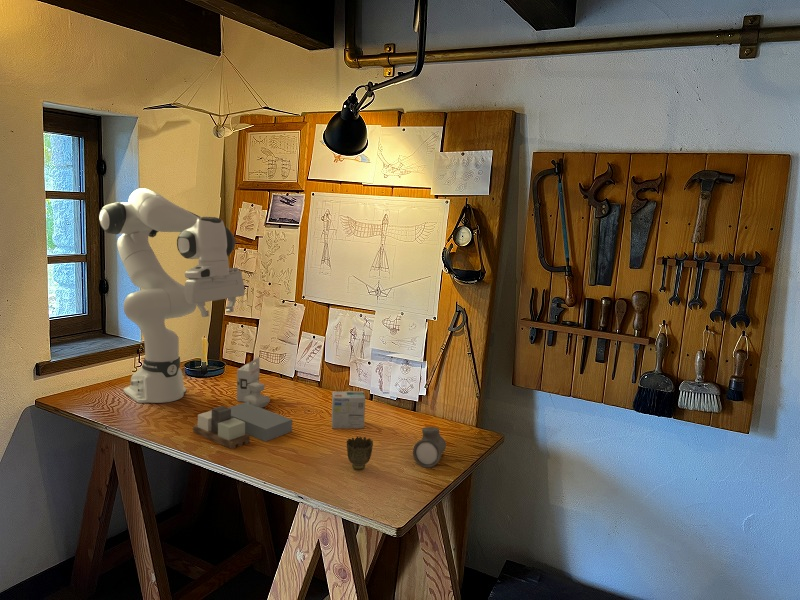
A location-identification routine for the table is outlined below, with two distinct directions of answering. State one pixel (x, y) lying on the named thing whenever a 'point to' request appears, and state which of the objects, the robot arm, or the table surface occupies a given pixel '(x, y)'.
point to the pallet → (221, 440)
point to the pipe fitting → (429, 447)
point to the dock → (261, 421)
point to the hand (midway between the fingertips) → (217, 314)
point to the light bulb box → (348, 409)
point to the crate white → (205, 421)
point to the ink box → (247, 378)
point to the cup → (359, 452)
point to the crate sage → (231, 429)
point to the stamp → (256, 395)
